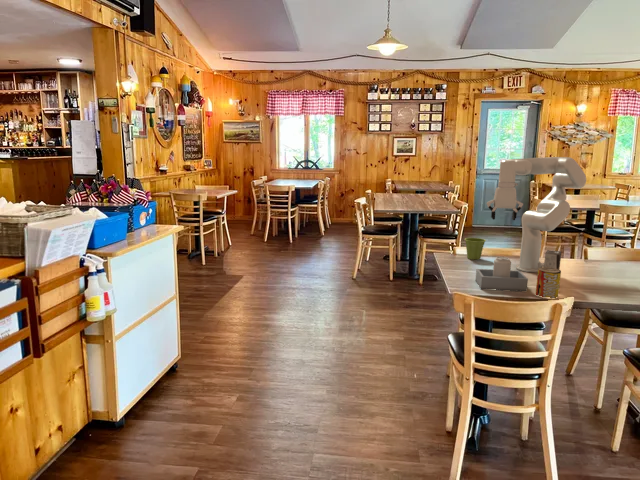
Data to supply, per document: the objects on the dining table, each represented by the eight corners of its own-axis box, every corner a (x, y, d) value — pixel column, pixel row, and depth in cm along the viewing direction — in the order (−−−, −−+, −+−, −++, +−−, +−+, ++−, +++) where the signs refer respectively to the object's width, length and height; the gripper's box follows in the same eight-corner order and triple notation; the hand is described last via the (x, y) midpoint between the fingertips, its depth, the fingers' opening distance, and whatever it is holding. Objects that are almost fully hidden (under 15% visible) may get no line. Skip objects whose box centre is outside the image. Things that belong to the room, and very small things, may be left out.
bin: (518, 282, 225) (519, 270, 224) (526, 291, 212) (527, 279, 211) (475, 280, 228) (476, 268, 227) (480, 289, 215) (481, 276, 213)
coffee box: (556, 288, 217) (560, 254, 214) (541, 286, 220) (544, 252, 217) (558, 283, 225) (562, 251, 221) (543, 281, 228) (547, 249, 225)
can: (500, 285, 215) (503, 260, 212) (488, 281, 221) (490, 256, 219) (512, 283, 218) (515, 258, 216) (500, 279, 225) (502, 255, 222)
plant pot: (485, 257, 276) (486, 238, 273) (483, 261, 265) (484, 242, 263) (464, 255, 280) (465, 236, 278) (461, 259, 270) (463, 240, 267)
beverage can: (530, 293, 209) (533, 267, 207) (548, 292, 211) (551, 266, 209) (544, 300, 201) (547, 273, 198) (562, 298, 203) (565, 272, 200)
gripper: (522, 185, 234) (519, 218, 237) (486, 184, 236) (484, 217, 240) (526, 186, 227) (523, 221, 230) (489, 185, 229) (486, 220, 232)
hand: (503, 219), depth 235 cm, fingers open, 9 cm apart
